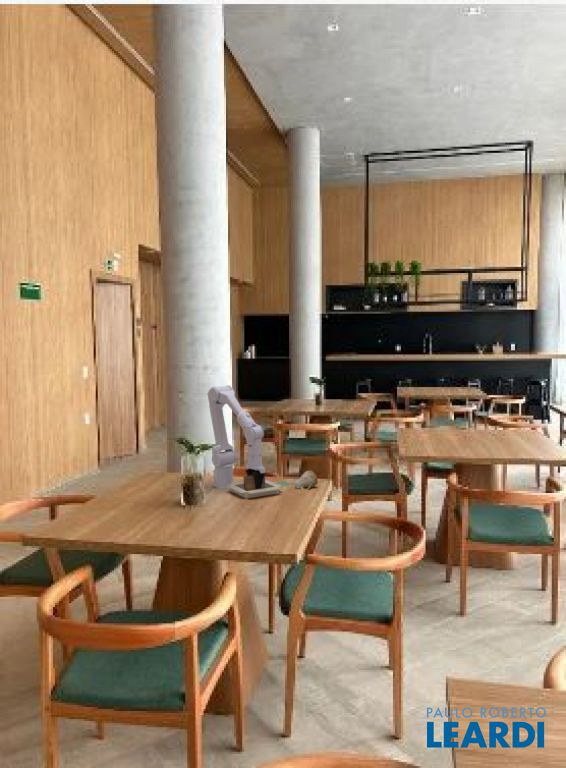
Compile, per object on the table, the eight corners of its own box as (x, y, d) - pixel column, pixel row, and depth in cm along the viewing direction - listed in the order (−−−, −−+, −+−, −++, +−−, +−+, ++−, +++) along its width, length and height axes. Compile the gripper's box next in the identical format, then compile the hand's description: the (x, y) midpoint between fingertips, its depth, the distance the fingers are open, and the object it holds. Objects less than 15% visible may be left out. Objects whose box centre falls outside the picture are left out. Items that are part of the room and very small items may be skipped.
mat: (268, 484, 266) (268, 483, 266) (284, 482, 270) (284, 481, 270) (277, 488, 259) (277, 487, 259) (293, 485, 263) (293, 484, 263)
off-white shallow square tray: (223, 491, 256) (223, 484, 256) (263, 485, 265) (263, 478, 265) (244, 501, 237) (244, 494, 237) (286, 494, 247) (286, 487, 246)
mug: (289, 489, 258) (295, 467, 261) (308, 496, 261) (314, 474, 265) (298, 488, 251) (304, 465, 255) (317, 495, 255) (323, 473, 258)
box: (243, 492, 251) (243, 475, 251) (260, 489, 255) (260, 473, 255) (248, 494, 247) (247, 477, 247) (265, 491, 251) (264, 474, 251)
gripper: (238, 453, 255) (239, 485, 256) (254, 458, 242) (255, 492, 243) (253, 451, 258) (254, 483, 259) (269, 456, 246) (270, 489, 247)
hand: (256, 487), depth 251 cm, fingers closed on box, 4 cm apart
